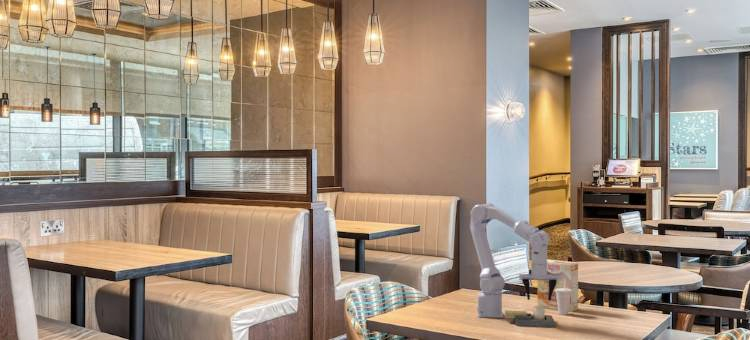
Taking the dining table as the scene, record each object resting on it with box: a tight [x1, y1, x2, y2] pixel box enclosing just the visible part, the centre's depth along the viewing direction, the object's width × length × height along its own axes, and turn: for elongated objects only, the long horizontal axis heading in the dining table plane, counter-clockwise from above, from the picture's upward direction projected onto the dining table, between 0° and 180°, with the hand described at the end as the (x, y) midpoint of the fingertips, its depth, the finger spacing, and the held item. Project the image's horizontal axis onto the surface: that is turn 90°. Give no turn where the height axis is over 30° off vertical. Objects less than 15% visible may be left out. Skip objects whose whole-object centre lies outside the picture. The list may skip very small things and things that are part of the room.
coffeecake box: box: [537, 258, 579, 313], centre depth 269 cm, size 15×7×20 cm, turn 49°
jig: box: [513, 312, 555, 328], centre depth 244 cm, size 14×10×3 cm
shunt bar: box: [504, 310, 528, 319], centre depth 245 cm, size 8×3×2 cm, turn 81°
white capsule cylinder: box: [533, 305, 546, 320], centre depth 244 cm, size 4×4×6 cm
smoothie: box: [555, 279, 572, 316], centre depth 259 cm, size 6×6×14 cm
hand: (539, 299), depth 244 cm, fingers open, 7 cm apart
